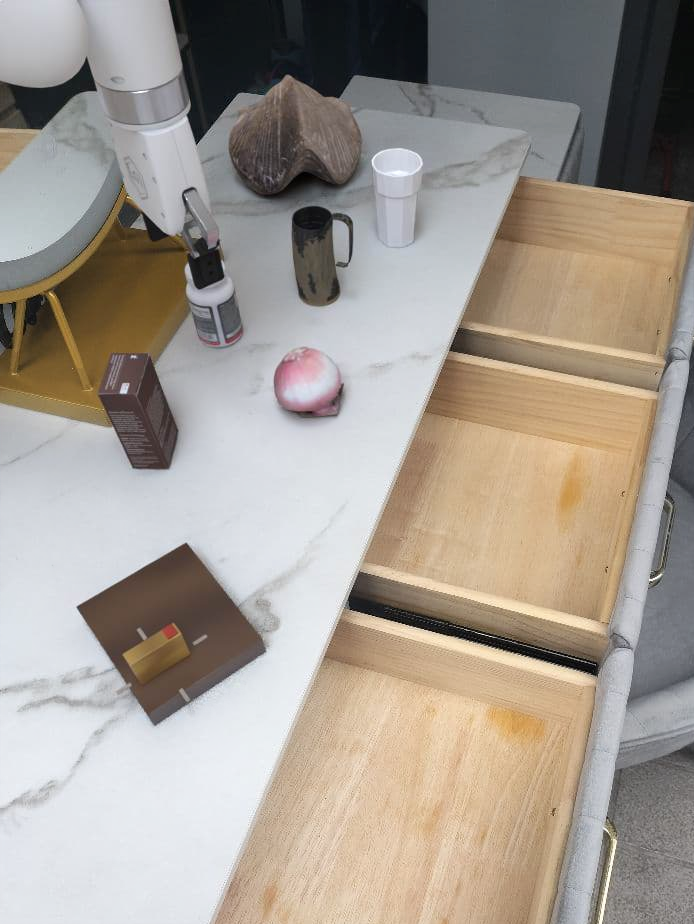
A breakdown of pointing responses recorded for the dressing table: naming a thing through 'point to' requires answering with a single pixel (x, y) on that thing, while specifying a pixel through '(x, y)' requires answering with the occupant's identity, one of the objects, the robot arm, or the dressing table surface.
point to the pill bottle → (215, 311)
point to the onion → (308, 383)
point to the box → (138, 410)
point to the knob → (157, 653)
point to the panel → (192, 611)
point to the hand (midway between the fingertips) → (186, 259)
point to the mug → (317, 254)
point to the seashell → (294, 138)
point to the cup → (396, 194)
